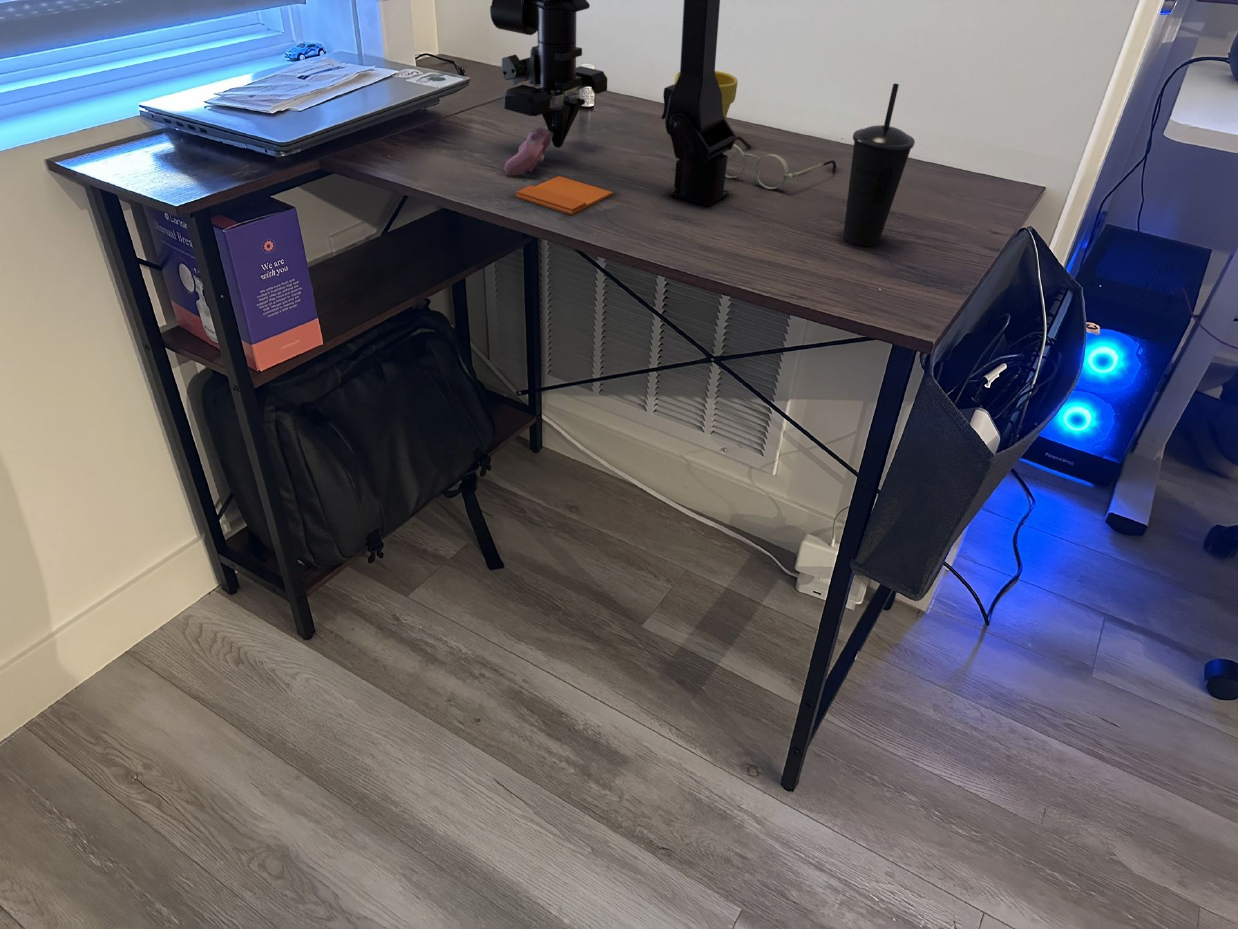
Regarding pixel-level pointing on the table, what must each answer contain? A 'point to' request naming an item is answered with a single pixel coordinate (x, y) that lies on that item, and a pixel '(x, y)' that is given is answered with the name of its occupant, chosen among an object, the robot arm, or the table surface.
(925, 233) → the table surface
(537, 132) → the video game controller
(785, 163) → the round eyeglasses
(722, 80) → the flower pot
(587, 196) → the orange rag
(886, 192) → the drinking cup
